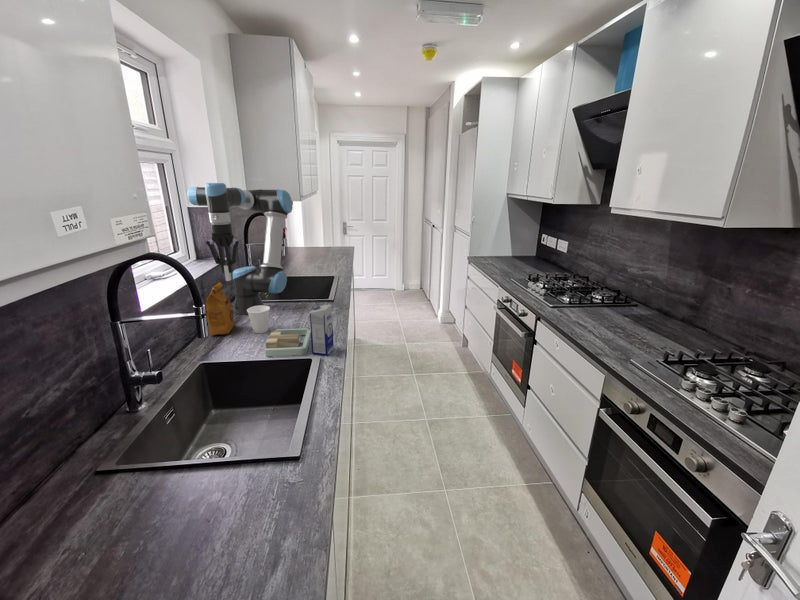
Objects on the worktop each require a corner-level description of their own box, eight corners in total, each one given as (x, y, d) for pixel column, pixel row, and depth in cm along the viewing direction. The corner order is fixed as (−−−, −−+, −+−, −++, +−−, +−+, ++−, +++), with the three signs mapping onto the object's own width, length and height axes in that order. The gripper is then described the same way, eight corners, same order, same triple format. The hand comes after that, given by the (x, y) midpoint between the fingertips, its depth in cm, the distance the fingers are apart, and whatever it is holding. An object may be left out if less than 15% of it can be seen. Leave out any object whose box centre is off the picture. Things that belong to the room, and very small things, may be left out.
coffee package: (238, 325, 171) (232, 281, 164) (229, 336, 160) (222, 289, 153) (216, 326, 170) (209, 281, 163) (206, 336, 159) (198, 289, 152)
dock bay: (276, 335, 161) (276, 329, 160) (311, 334, 163) (311, 328, 162) (266, 357, 141) (265, 350, 140) (306, 355, 143) (305, 348, 142)
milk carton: (327, 356, 143) (324, 309, 136) (311, 354, 144) (308, 308, 138) (334, 348, 149) (331, 303, 143) (318, 347, 151) (316, 302, 144)
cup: (276, 327, 170) (273, 305, 166) (266, 336, 160) (263, 313, 157) (256, 326, 170) (253, 304, 167) (245, 335, 161) (242, 312, 158)
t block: (272, 339, 157) (271, 331, 156) (300, 338, 158) (300, 330, 157) (266, 352, 146) (265, 343, 144) (296, 350, 147) (296, 342, 146)
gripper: (199, 224, 138) (209, 282, 146) (234, 224, 140) (242, 282, 147) (207, 222, 145) (215, 278, 153) (240, 222, 147) (247, 277, 155)
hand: (228, 280), depth 150 cm, fingers closed
